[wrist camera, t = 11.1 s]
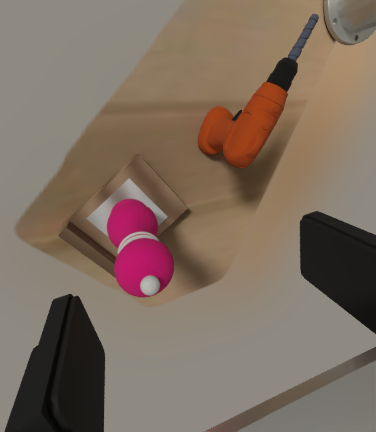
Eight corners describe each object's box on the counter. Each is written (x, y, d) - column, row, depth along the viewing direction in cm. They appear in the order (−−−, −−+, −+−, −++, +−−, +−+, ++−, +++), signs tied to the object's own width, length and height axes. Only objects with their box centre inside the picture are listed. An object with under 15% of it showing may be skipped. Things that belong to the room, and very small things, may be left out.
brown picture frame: (137, 153, 39) (141, 156, 34) (184, 205, 44) (193, 213, 40) (63, 223, 39) (58, 235, 34) (119, 266, 44) (121, 281, 40)
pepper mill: (139, 244, 42) (166, 332, 24) (98, 227, 38) (93, 314, 21) (160, 207, 41) (205, 270, 23) (119, 187, 38) (134, 241, 20)
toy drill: (271, 46, 38) (351, 22, 25) (214, 157, 44) (255, 184, 31) (247, 27, 36) (321, -11, 23) (190, 145, 42) (224, 169, 29)
